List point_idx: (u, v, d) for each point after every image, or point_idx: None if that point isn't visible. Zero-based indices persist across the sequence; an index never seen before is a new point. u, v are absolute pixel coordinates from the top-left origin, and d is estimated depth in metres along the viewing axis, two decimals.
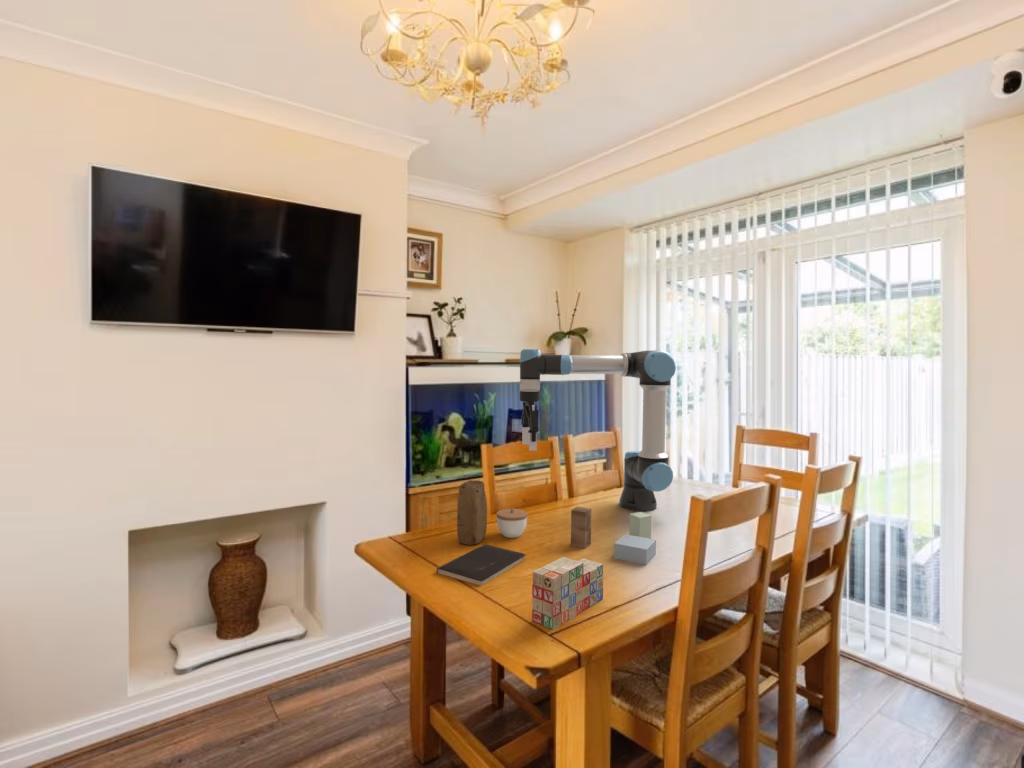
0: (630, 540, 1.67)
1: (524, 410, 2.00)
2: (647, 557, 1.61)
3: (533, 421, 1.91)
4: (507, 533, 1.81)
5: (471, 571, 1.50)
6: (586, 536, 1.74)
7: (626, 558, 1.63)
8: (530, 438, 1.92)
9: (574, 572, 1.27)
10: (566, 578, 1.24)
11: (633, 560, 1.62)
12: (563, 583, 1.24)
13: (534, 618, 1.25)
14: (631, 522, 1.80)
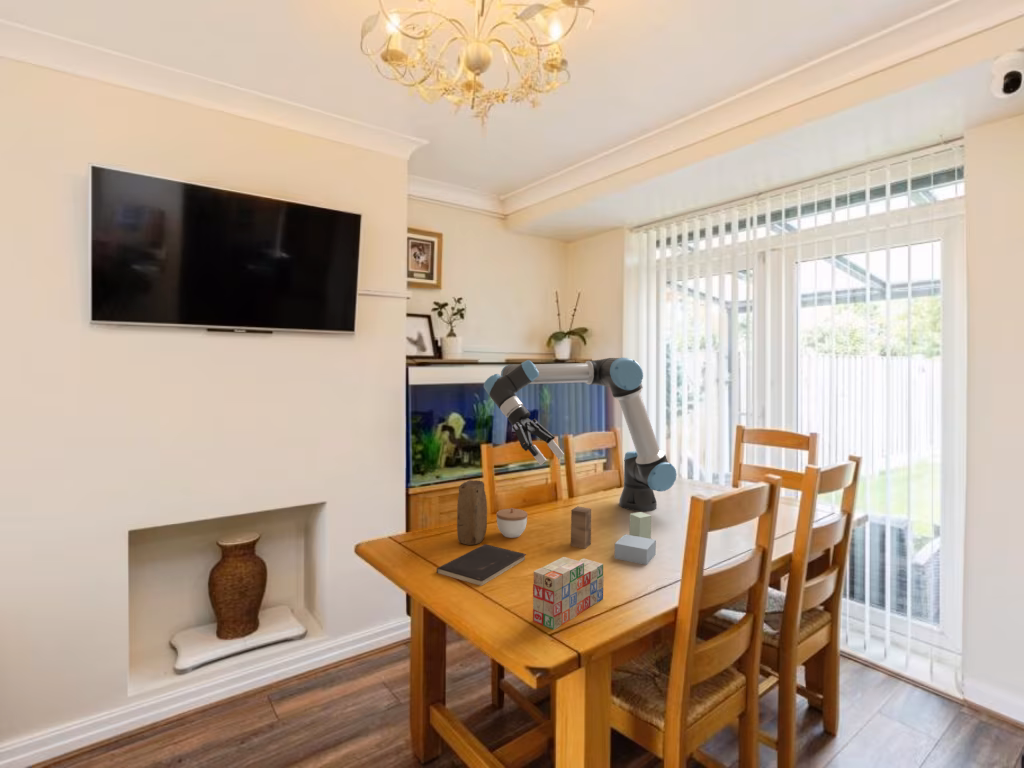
0: (630, 540, 1.67)
1: None
2: (647, 557, 1.61)
3: (520, 438, 1.77)
4: (507, 533, 1.81)
5: (471, 571, 1.50)
6: (586, 536, 1.74)
7: (626, 558, 1.63)
8: None
9: (575, 572, 1.27)
10: (567, 578, 1.25)
11: (633, 560, 1.62)
12: (564, 583, 1.24)
13: (535, 618, 1.25)
14: (631, 522, 1.80)
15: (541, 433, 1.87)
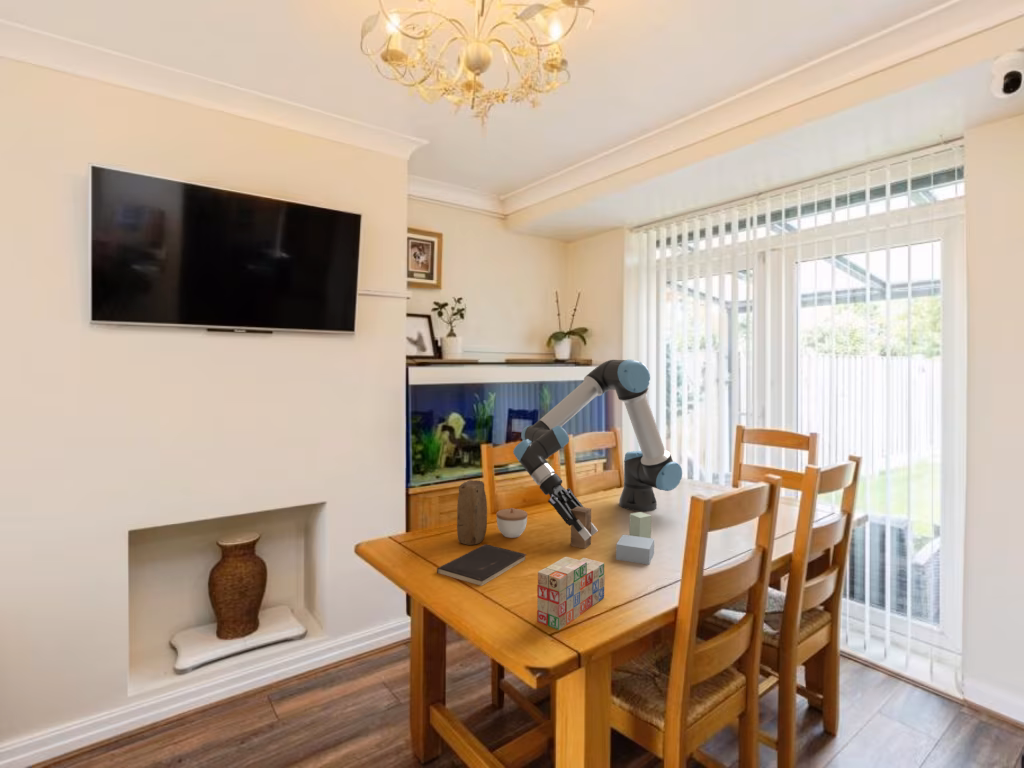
0: (630, 540, 1.67)
1: None
2: (649, 557, 1.61)
3: (562, 514, 1.72)
4: (507, 533, 1.81)
5: (471, 571, 1.50)
6: None
7: (628, 559, 1.62)
8: None
9: (578, 571, 1.27)
10: (571, 578, 1.25)
11: (635, 560, 1.62)
12: (569, 583, 1.24)
13: (539, 618, 1.25)
14: (631, 522, 1.80)
15: (573, 504, 1.79)
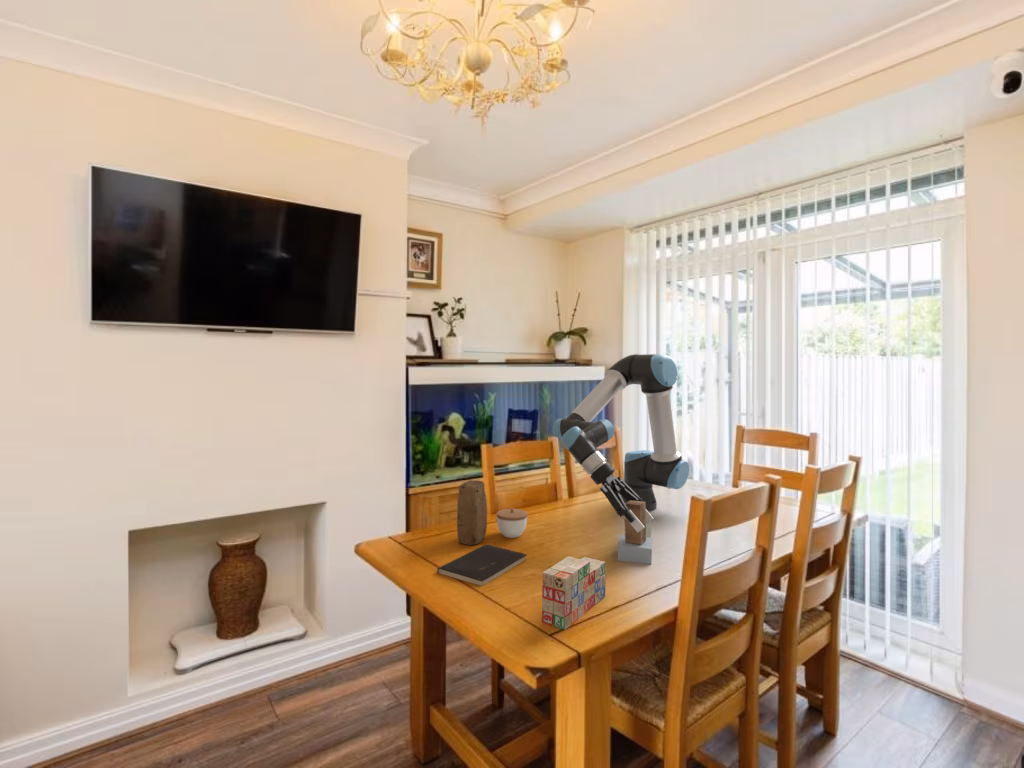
0: None
1: None
2: (651, 556, 1.61)
3: (613, 503, 1.62)
4: (507, 533, 1.81)
5: (471, 571, 1.50)
6: (641, 531, 1.64)
7: (630, 559, 1.62)
8: None
9: (582, 571, 1.27)
10: (576, 578, 1.25)
11: (637, 561, 1.62)
12: (573, 582, 1.24)
13: (544, 619, 1.24)
14: None
15: (627, 493, 1.71)
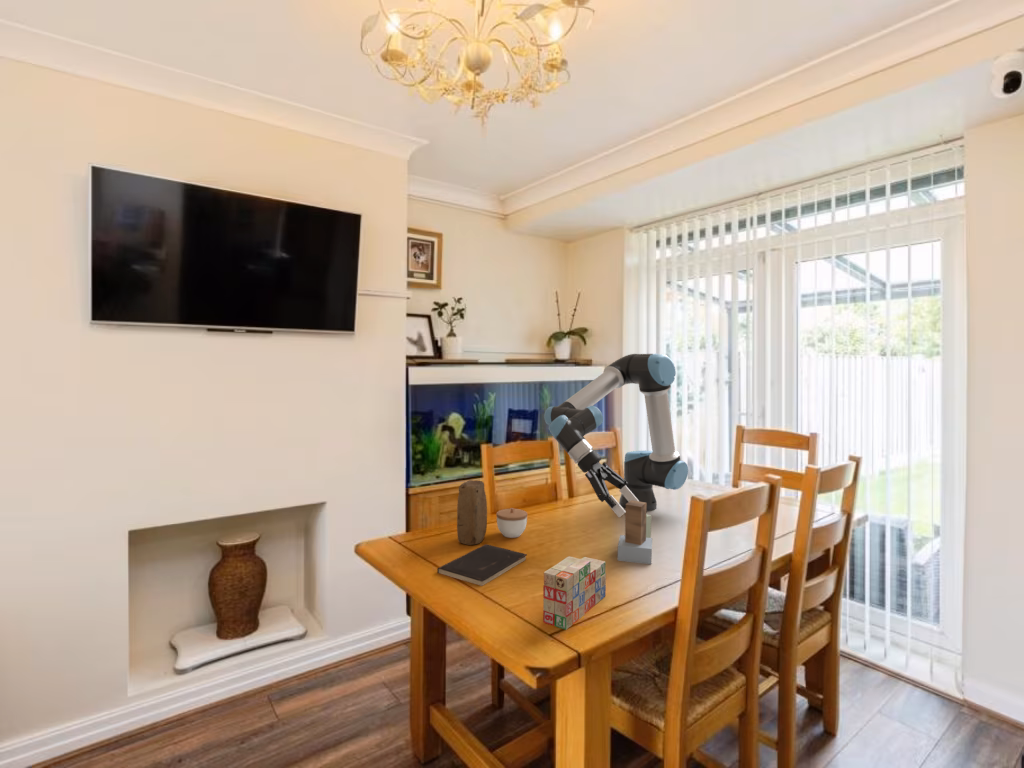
0: None
1: None
2: (651, 556, 1.61)
3: (596, 488, 1.63)
4: (507, 533, 1.81)
5: (471, 571, 1.50)
6: (642, 532, 1.64)
7: (630, 560, 1.62)
8: (610, 505, 1.62)
9: (583, 571, 1.28)
10: (577, 577, 1.25)
11: (637, 561, 1.61)
12: (575, 582, 1.24)
13: (545, 619, 1.24)
14: None
15: (613, 479, 1.73)
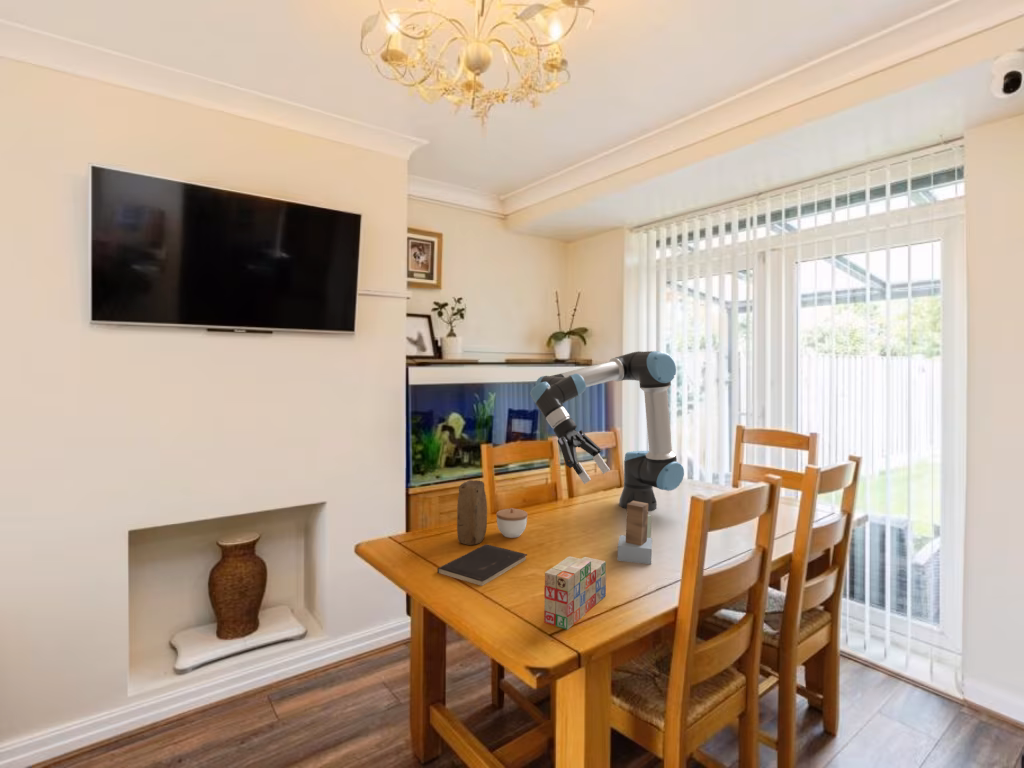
0: None
1: None
2: None
3: (565, 455, 1.71)
4: (507, 533, 1.81)
5: (471, 571, 1.50)
6: (642, 532, 1.63)
7: (630, 560, 1.62)
8: None
9: (584, 571, 1.28)
10: (578, 577, 1.25)
11: (637, 561, 1.61)
12: (576, 582, 1.24)
13: (547, 619, 1.24)
14: None
15: (587, 446, 1.81)
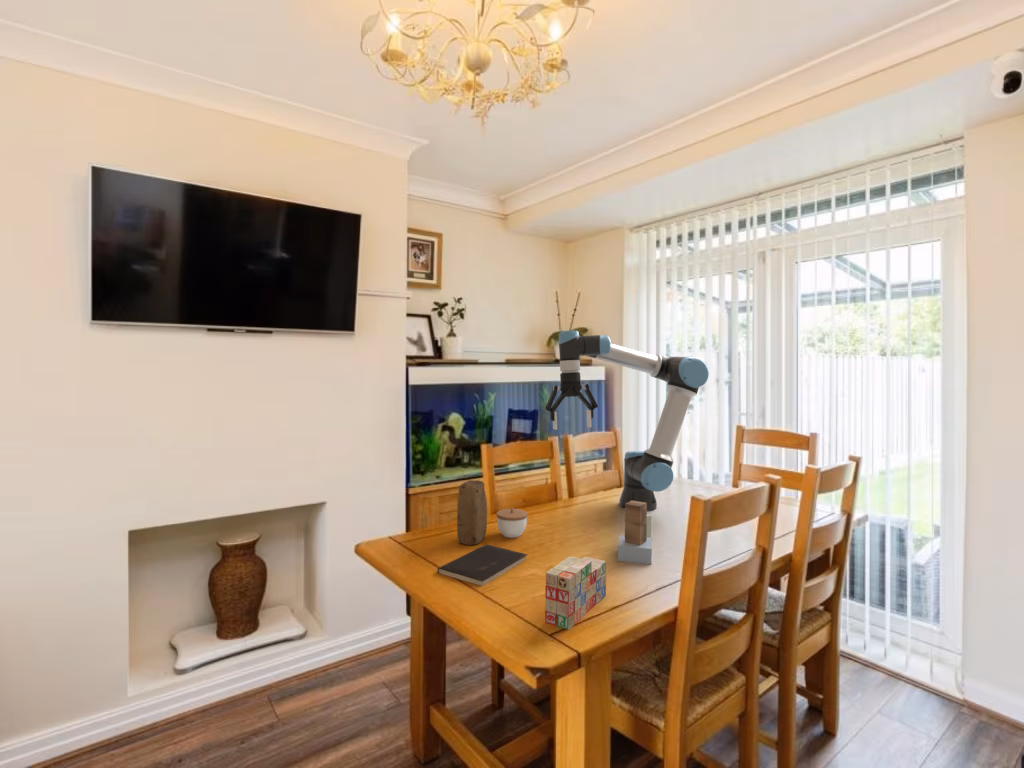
0: None
1: None
2: (651, 556, 1.61)
3: (548, 401, 1.99)
4: (507, 533, 1.81)
5: (471, 571, 1.50)
6: (641, 532, 1.64)
7: (630, 560, 1.62)
8: None
9: (584, 570, 1.28)
10: (579, 577, 1.25)
11: (637, 561, 1.61)
12: (576, 582, 1.24)
13: (547, 619, 1.24)
14: None
15: (582, 400, 2.01)
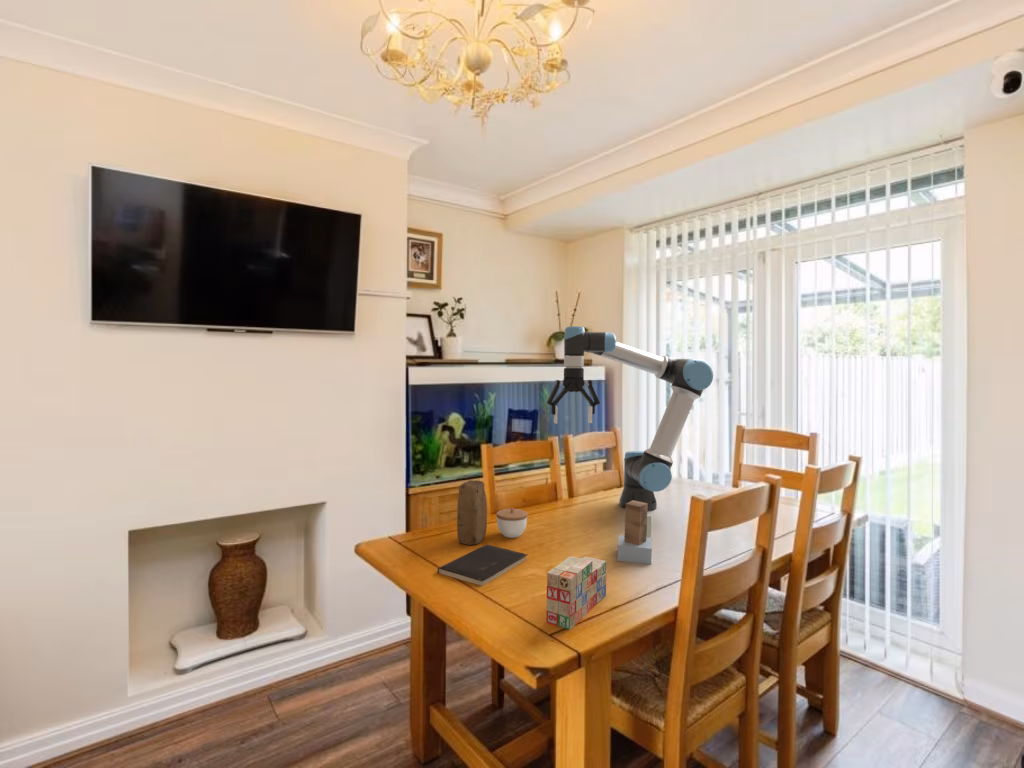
0: None
1: None
2: None
3: (550, 394, 2.02)
4: (507, 533, 1.81)
5: (472, 571, 1.50)
6: (641, 532, 1.64)
7: (630, 559, 1.62)
8: None
9: (585, 570, 1.28)
10: (580, 577, 1.25)
11: (637, 560, 1.61)
12: (578, 582, 1.24)
13: (549, 619, 1.24)
14: None
15: (584, 396, 2.03)
